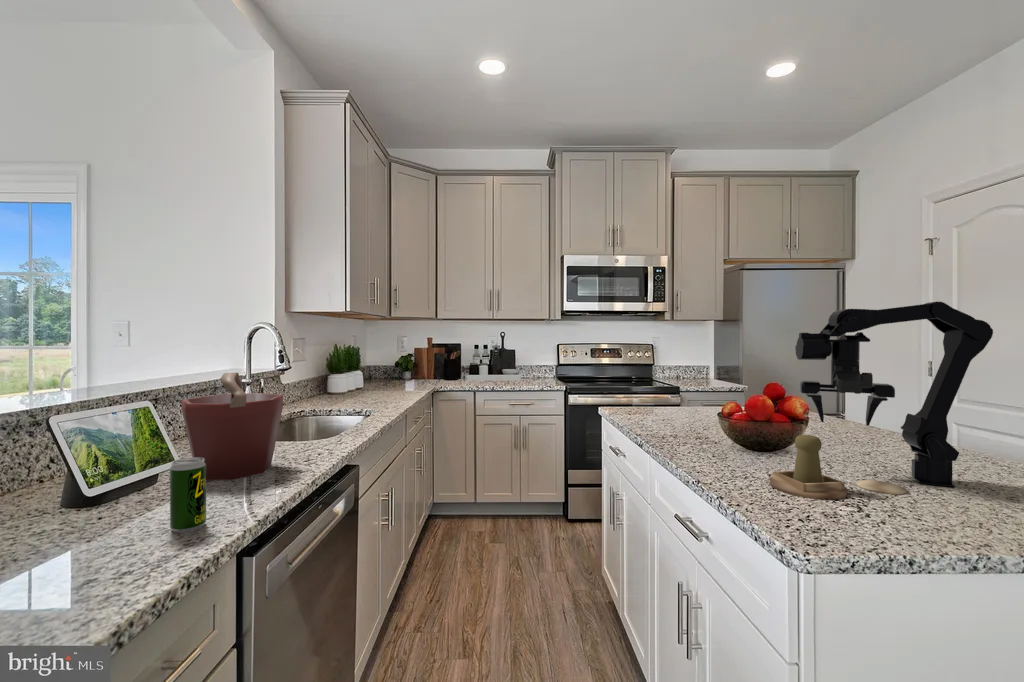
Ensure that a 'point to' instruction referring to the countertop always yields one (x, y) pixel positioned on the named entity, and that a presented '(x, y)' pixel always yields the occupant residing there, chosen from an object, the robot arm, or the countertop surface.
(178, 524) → the green soda can
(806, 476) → the pepper shaker
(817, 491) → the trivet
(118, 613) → the countertop surface
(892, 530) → the countertop surface
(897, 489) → the cork coaster
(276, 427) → the bucket
